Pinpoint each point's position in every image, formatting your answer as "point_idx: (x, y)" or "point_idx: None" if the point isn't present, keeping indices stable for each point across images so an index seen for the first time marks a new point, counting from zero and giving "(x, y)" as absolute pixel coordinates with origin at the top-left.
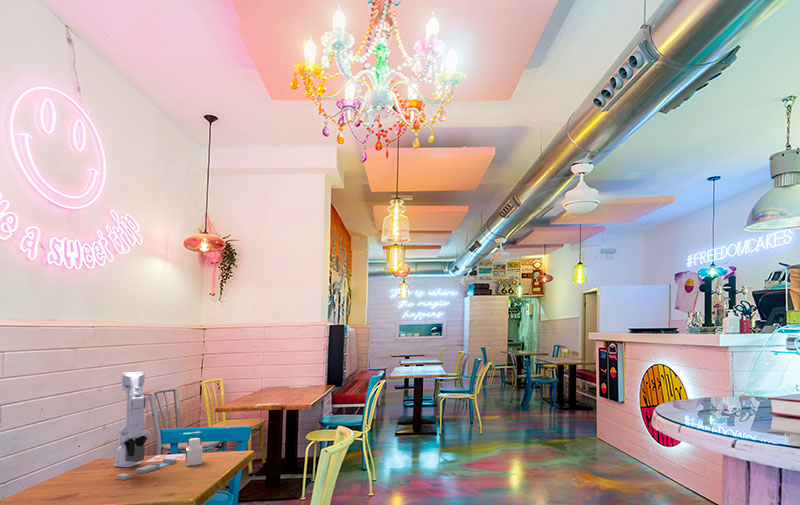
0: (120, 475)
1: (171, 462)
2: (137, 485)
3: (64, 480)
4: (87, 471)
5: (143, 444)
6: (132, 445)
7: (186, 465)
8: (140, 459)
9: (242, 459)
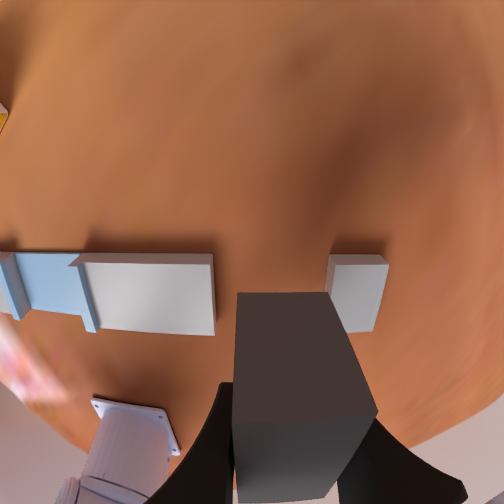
0: (372, 307)
1: (8, 255)
2: (455, 78)
3: None
4: None
5: (191, 465)
6: (422, 464)
7: (6, 112)
8: (287, 302)
9: None
